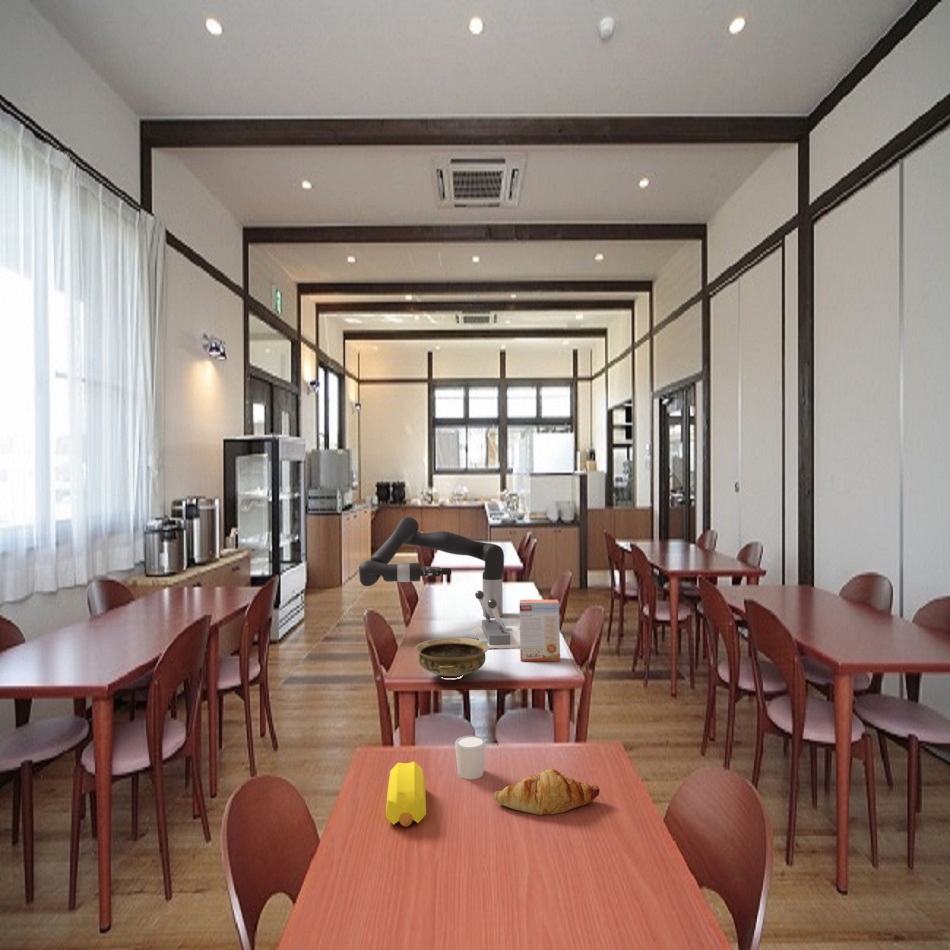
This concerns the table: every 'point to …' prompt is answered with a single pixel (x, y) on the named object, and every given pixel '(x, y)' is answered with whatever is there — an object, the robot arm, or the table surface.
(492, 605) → the lever outer
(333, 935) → the table surface
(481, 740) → the shot glass
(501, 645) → the switch unit
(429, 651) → the ceramic bowl
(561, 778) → the croissant
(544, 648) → the cracker box
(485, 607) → the lever inner
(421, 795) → the yellow faceted prism
